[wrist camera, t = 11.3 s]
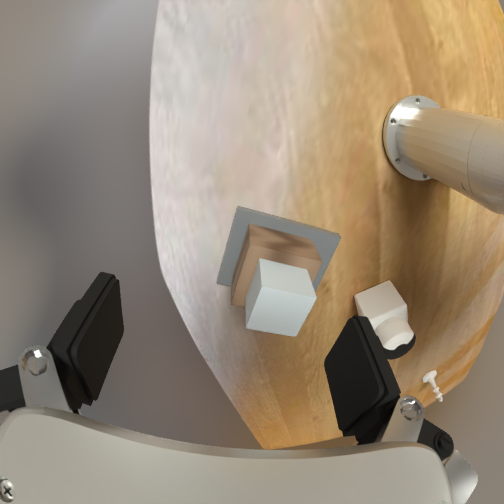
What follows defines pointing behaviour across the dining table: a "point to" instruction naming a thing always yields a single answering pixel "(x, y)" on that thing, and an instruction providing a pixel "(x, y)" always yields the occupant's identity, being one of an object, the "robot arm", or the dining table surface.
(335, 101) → the dining table surface
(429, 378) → the chess piece
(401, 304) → the medicine bottle
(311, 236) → the slate board
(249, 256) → the walnut block
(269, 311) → the blue-grey block
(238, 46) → the dining table surface
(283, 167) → the dining table surface
